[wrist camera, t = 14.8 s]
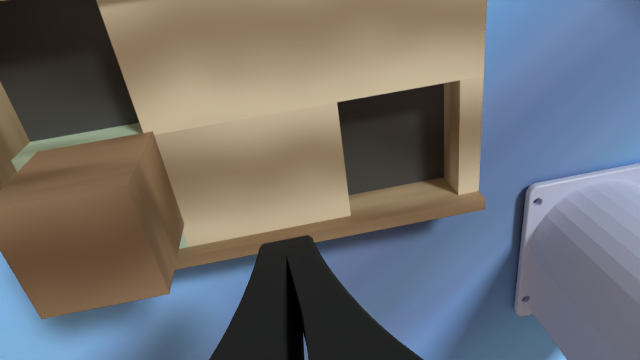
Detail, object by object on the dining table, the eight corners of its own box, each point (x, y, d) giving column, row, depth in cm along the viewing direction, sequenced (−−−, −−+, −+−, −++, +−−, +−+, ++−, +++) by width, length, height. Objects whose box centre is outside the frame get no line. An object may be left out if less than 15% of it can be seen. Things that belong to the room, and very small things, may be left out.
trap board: (461, 181, 24) (492, 218, 21) (71, 256, 23) (43, 307, 19) (466, -95, 18) (513, -101, 15) (-67, -11, 16) (-138, 1, 13)
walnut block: (184, 223, 20) (169, 293, 16) (81, 243, 20) (41, 319, 16) (152, 131, 18) (126, 186, 14) (37, 151, 18) (-23, 213, 14)
